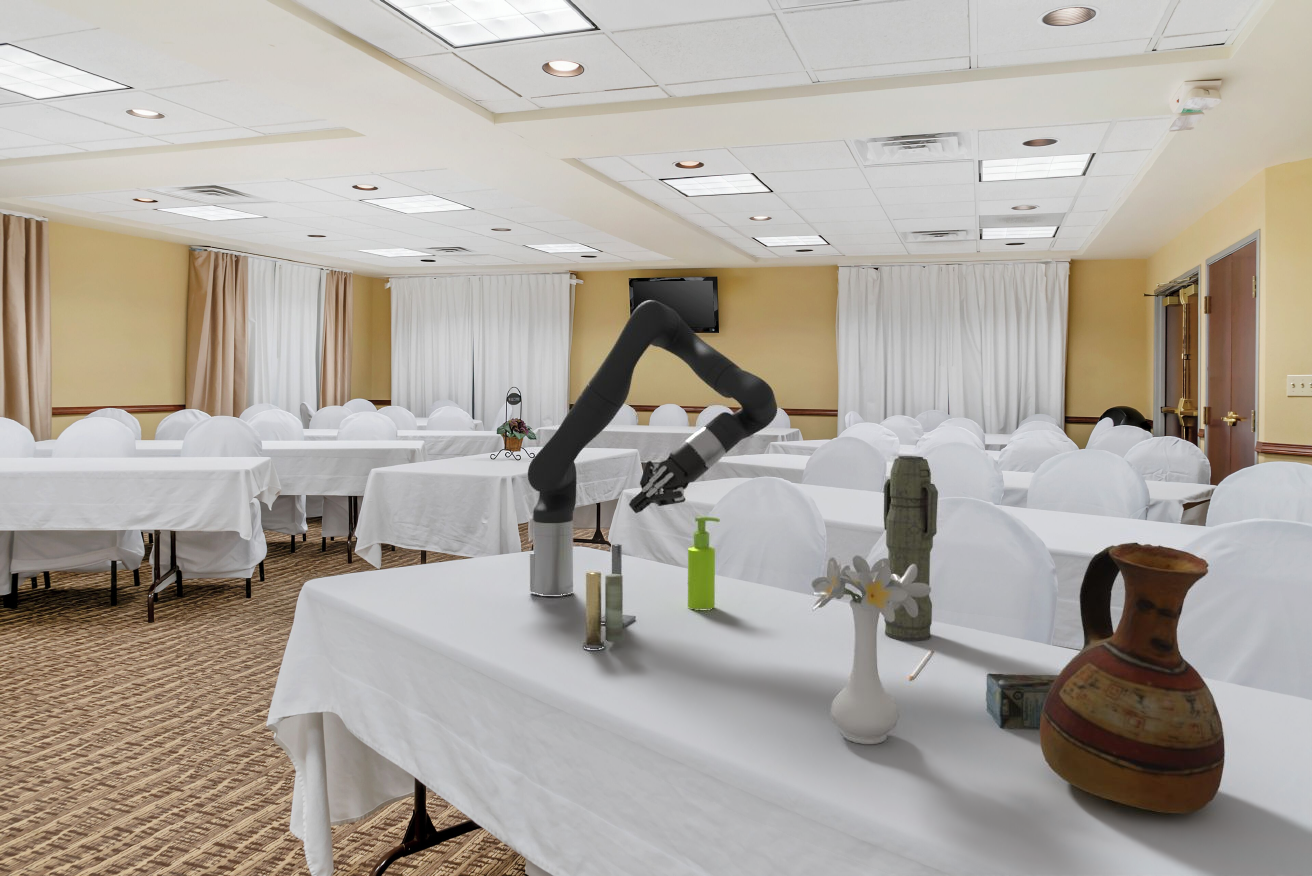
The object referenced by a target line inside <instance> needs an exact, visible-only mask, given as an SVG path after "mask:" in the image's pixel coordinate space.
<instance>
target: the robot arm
mask: <svg viewBox="0 0 1312 876" xmlns="http://www.w3.org/2000/svg"><path fill="white" fill-rule="evenodd" d="M650 345H651V346H654V347H657V348H660V349H663V350H665V351H667V352H669V353H670V354H673V355H675V356H676V357H678V358H679V359H680V360H682V361H683V362H684V363H686V364H687V365H688V367H689V368H691V370H692V371H693V372H694V374H695V375H696V376H697V377H698V378H699V379H700V380H701V381H703V382H704V384H706V385H707V386H709V387H710V388H711V389H713V391H715V392H716V393H718V394H719V395H720V396H722V397H724V398H726V399H734V400H735V401H736V402H737V403H738V404H739V405H740V406H741V408H739V409H738V410H737V411H735V412H733V413H729V412H728V411H726V412H725V411H724V412H720V413H719V414H717V416H715V417H713V419H711V421H709V422H708V423H707V424H705V426H704V427H701V428H700V430H698V431H696V432H694V433H693V434H692V435H690V436H689V437H688V438H687V439H685V440H684V441H683V442H682V443H681V444H679V445H678V446H677V447H676V448H674V450H672V451H671V452H670V453H669V456H668V457H667V459H664V460H661V461H660V462H659V463H653V461H651V460H648V461H647V462H646V463H645V466H644V470H643V473H642V475H641V478H640V481H639V485H640V487H641V491H640V492H639V493H638V494H636V496H634V497H633V498H632V499H631V500H630V501H629V504H628V506H629V507H630V508H631V510H632V511H633V512H634V513H635V514H637V513H640V512H643V511H644V510H645V509H646V508H647V507H649V506H650V505H651V504H656V505H657V506H658V507H661V506H664V507H665V506H668V505H669V506H670V505H676V504H680V503H684V502H685V501H686V497H685V490H686V489H687V488H688V486H689V484H690V483H694V482H696V481H697V480H698V479H699V478H701V477H702V476H703V475H704V474H705V473H706V472H707V471H709V470H710V469H711V468H712V467H714V466H715V465H716V464H717V463H718V462H719V461H720V460H721V459H722V457H724V456H725V455H726V454H727V453H728V452H729V451H731V450H732V449H733V448H734V447H736V445H738V443H740V441H743V440H745V439H747V438H748V437H751V436H752V435H754V434H757V433H758V432H760V431H762V430H763V429H765V428H767V426H769V425H770V424H771V423H772V422H773V421H774V419H775V418H776V416H777V414H778V406H777V400H776V397H775V393H774V390H773V388H772V387H771V386H770V385H769V383H767V382H766V381H765V380H764V379H762V378H761V377H759V376H757V375H755V374H753V373H751V372H749V371H746V370H743V369H742V368H741V367H740V366H738V364H736V363H734V362H733V360H731V359H730V358H728V357H727V356H725V354H722V353H721V352H720V351H718V350H717V349H715V348H714V347H712V346H711V345H709V344H708V343H707V342H706V341H704V340H703V339H702V338H700V337H699V336H698V335H697V334H696V333H695V331H693V330H692V328H691V327H689V326H688V324H687V323H686V322H685V321H684V320H683V318H682V317H681V316H680V315H679V314H678V312H677V311H675V310H674V309H673V308H671V307H669V306H668V305H666V304H663V303H661V302H659V301H658V300H653V299H648V300H644V301H643V302H641V303H640V304H638V306H637V307H636V308H635V309H634V310H633V311H632V313H631V315H630V316H629V318H628V321H627V322H626V323H625V325H624V327H623V329H622V331H621V333H620V335H619V336H618V337H617V340H616V341H615V344H614V345H613V347H612V348H611V350H610V351H609V353H608V355H607V356H606V357H605V358H604V360H603V362H602V363H601V365H600V366H599V368H598V369H597V371H596V372H595V373H594V375H593V377H591V379H590V381H588V383H587V384H586V386H585V387H584V389H583V390H582V392H581V393H580V395H579V396H578V398H577V399H576V401H575V402H574V404H573V406H572V407H571V409H570V410H569V411H568V413H567V414H566V416H565V418H564V419H563V421H562V423H561V424H560V425H559V427H558V429H557V430H556V431H555V433H554V434H553V435H552V437H551V438H550V439H549V440H548V441H547V442H546V443H545V445H544V446H543V447H542V448H541V449H540V450H539V452H538V453H537V454H536V455H535V456H534V457H533V458H532V460H531V462H530V463H529V465H528V470H527V479H528V483H529V485H530V486H531V488H532V489H534V490H535V491H536V492H538V493H539V497H538V501H537V502H536V505H535V507H534V508H533V511H532V523H533V524H532V527H533V529H532V531H533V532H532V535H533V536H532V537H533V538H532V541H533V545H532V546H533V550H532V551H533V552H531V553H530V554H529V592H530V591H531V592H535V593H538V594H543V595H561V594H562V595H563V594H568V593H571V592H573V593H574V536H573V535H574V528H573V527H574V519H573V518H574V511H575V508H576V503H577V502H576V501H577V468H576V467H577V466H576V464H575V460H576V459H577V458H578V456H579V454H580V453H581V452H582V450H583V449H584V448H585V447H586V446H587V445H589V443H590V442H592V441H593V440H594V439H595V438H596V437H597V436H598V435H600V433H601V432H602V431H603V430H605V428H606V427H608V425H609V424H610V423H611V422H612V421H613V419H614V418H615V417H616V415H617V414H618V412H619V411H620V410H621V408H622V407H623V406H624V404H625V402H626V400H627V398H628V397H629V393H630V389H631V385H632V378H633V374H634V372H635V371H634V370H635V368H636V366H637V364H638V363H639V361H640V359H641V357H642V356H643V355H644V353H645V352H646V351H647V349H648V348H649V347H650Z"/></svg>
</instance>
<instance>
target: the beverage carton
mask: <svg viewBox="0 0 1312 876" xmlns="http://www.w3.org/2000/svg"><path fill="white" fill-rule="evenodd" d="M1058 676H1059V674H1052V675H1051V674H1011V673H1010V674H1008V673H1007V674H1005V673H986V690H985V691H986V692H985V700H986V711H987V713H988V714H989V715H990V716H991V718H992V719H993V720H994V721H995V723H996V725H998V727H999V728H1001V729H1018V730H1019V729H1021V730H1023V729H1025V730H1040V722H1041V714H1042V709H1043V706H1044V702H1045V700H1046V697H1047V695H1048V693H1049V691H1050V689H1051V687H1052V685H1053V683H1054V681H1055V680H1056V678H1057V677H1058Z"/></svg>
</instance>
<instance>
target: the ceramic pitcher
mask: <svg viewBox="0 0 1312 876" xmlns="http://www.w3.org/2000/svg"><path fill="white" fill-rule="evenodd" d="M1208 567H1209V563H1208V562H1207V561H1206V559H1203V558H1202V557H1199V556H1197V555H1195V554H1193V553H1191V552H1187V551H1183V550H1181V549H1177V548H1172V547H1166V546H1163V545H1161V544H1159V545H1152V544H1150V543H1147V544H1146V543H1145V544H1140V543H1138V542H1128V543H1127V542H1126V543H1120V544H1117V545H1110V546H1107V547H1105V548H1104V549H1102V551H1100V552H1098V553H1097V554H1094V556H1093V557H1092V558H1091V560H1090V561H1089V563H1088V565H1087V568H1086V570H1085V572H1084V573H1085V574H1084V575H1083V580H1082V582H1081V585H1080V589H1079V590H1080V591H1079V607H1080V611H1079V612H1080V618H1081V625H1082V630H1083V641H1084V642H1083V647H1082V649H1081V650H1080V652H1078V653H1077V654H1076V655H1075V656H1074V657H1072V659H1071V660H1070V661H1069V662H1068V663H1067V664H1066V665H1065V666H1064V668H1062V670H1061V672H1060V673H1059V674H1058V675H1059V676H1058V677H1057V678H1056V680H1055V681H1054V683H1053V685H1052V687H1051V689H1050V691H1049V693H1048V695H1047V697H1046V700H1045V702H1044V706H1043V709H1042V714H1041V722H1040V729H1039V739H1040V742H1039V743H1040V746H1041V751H1042V755H1043V757H1044V761H1045V762H1046V763H1047V765H1048V766H1049V768H1051V769H1052V770H1053V772H1054V773H1055V774H1056V775H1058V776H1059V777H1060V778H1061V779H1062V780H1064V781H1065V782H1067V783H1068V784H1070V785H1072V786H1074V787H1077V788H1078V789H1080V790H1082V791H1084V792H1087V793H1090V794H1092V795H1095V796H1097V797H1100V798H1102V799H1106V800H1110V801H1114V802H1116V803H1120V804H1124V805H1127V806H1128V807H1129V806H1130V807H1133V808H1137V809H1138V808H1139V809H1143V810H1148V811H1154V812H1157V813H1167V814H1188V813H1193V812H1196V811H1199V810H1202V809H1203V808H1204V807H1206V806H1207V805H1208V804H1209V803H1211V801H1212V800H1213V799H1214V798H1215V797H1216V795H1217V793H1218V791H1219V789H1220V786H1221V783H1222V780H1223V779H1222V778H1223V772H1224V768H1225V757H1226V755H1225V753H1226V752H1225V751H1226V749H1225V736H1224V729H1223V722H1222V719H1221V716H1220V713H1219V710H1218V707H1217V706H1218V705H1217V704H1216V702H1215V701H1216V700H1215V697H1214V695H1213V693H1212V692H1211V690H1210V688H1209V686H1208V685H1207V683H1206V682H1205V681H1204V679H1203V677H1202V676H1201V675H1200V673H1199V672H1198V670H1196V669H1195V668H1194V667H1193V665H1192V664H1191V663H1189V662H1188V661H1187V660H1185V659H1184V657H1183V656H1182V654H1181V652H1180V649H1179V643H1178V626H1179V621H1180V618H1181V614H1182V612H1183V607H1184V602H1185V599H1186V597H1187V594H1188V593H1189V590H1190V589H1191V588H1192V587H1193V586H1194V585H1195V584H1196V583H1197V582H1198V581H1200V580H1201V579H1202V578H1204V577H1206V575H1207V574H1208V573H1209V569H1208ZM1119 573H1120V574H1121V576H1122V578H1123V579H1122V580H1123V583H1124V603H1123V609H1122V613H1121V618H1120V619H1119V622H1118V624H1117V627H1116V630H1115V631H1114V629H1113V628H1114V627H1113V622H1112V621H1113V620H1112V615H1111V613H1112V612H1111V605H1112V603H1111V601H1112V591H1113V586H1114V583H1115V582H1116V579H1117V577H1118V574H1119Z"/></svg>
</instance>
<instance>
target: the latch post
mask: <svg viewBox="0 0 1312 876" xmlns="http://www.w3.org/2000/svg"><path fill="white" fill-rule="evenodd" d="M601 618H602V572H601V571H587V572H586V573H585V637H586V638H585V641H584V642H583V643H582V648H583V647H585V648H590V649H599V648H602V647H604V648H605V642H604V641H602V625H601Z"/></svg>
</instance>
